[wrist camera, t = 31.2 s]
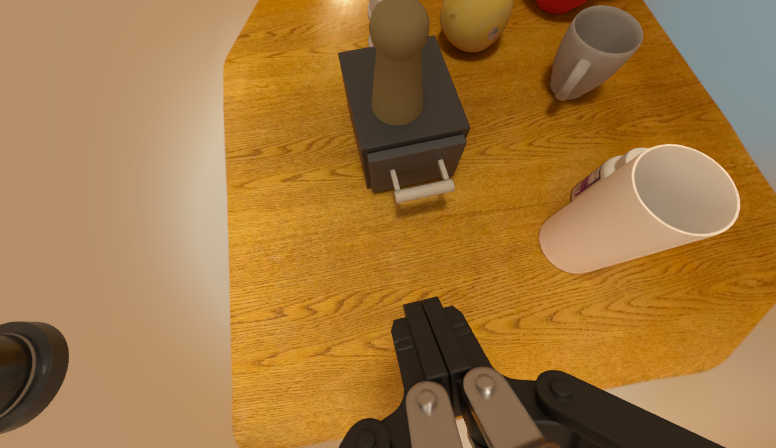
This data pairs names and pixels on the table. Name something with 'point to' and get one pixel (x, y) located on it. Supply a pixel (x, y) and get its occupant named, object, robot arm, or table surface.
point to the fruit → (474, 22)
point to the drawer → (416, 167)
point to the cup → (642, 210)
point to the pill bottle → (604, 172)
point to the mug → (593, 50)
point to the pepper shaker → (398, 60)
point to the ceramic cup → (559, 5)
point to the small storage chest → (434, 122)
